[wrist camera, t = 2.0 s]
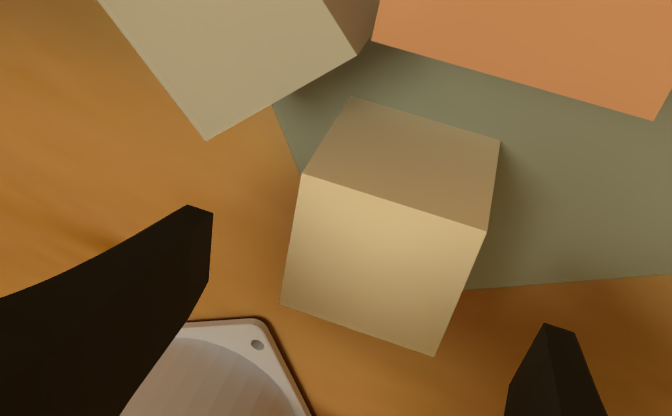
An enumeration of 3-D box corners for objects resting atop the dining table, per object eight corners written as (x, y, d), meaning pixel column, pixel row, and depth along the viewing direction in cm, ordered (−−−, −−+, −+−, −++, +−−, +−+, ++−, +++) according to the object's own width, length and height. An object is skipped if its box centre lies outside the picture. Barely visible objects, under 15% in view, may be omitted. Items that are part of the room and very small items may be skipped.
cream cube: (500, 140, 16) (487, 231, 13) (454, 256, 18) (434, 357, 15) (350, 95, 16) (301, 173, 13) (324, 215, 19) (278, 304, 16)
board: (786, 245, 16) (795, 265, 16) (356, 282, 21) (350, 299, 20) (794, -666, 9) (813, -700, 8) (131, -288, 14) (111, -290, 13)
